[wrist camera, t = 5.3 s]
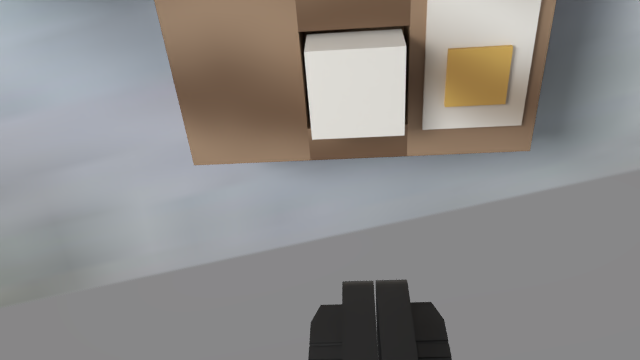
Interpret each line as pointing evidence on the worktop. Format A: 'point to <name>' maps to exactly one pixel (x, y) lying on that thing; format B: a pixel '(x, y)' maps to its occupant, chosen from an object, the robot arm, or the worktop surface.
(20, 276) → the worktop surface
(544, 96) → the worktop surface
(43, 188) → the worktop surface
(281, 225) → the worktop surface
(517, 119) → the button board
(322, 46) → the button
